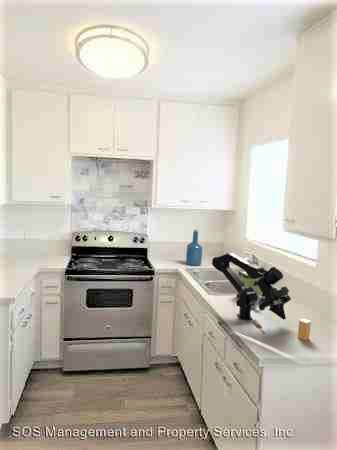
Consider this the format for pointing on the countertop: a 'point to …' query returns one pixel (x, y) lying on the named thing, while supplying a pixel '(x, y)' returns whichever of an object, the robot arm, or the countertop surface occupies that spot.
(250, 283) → the protein box
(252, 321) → the wooden handled tool
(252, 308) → the lighter
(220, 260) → the robot arm
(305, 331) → the lidded box
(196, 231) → the wine bottle
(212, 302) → the countertop surface
